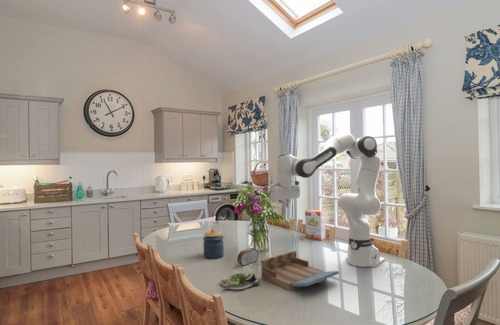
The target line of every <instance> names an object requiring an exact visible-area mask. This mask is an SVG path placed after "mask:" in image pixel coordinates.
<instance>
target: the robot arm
mask: <svg viewBox="0 0 500 325" xmlns="http://www.w3.org/2000/svg"><path fill="white" fill-rule="evenodd" d="M377 143H378V142H377V141H376V138H374V137H373V136H371V135H364V136H361V137H360V138H355V137H354V135H353V134H352V133H350V132H348V131H347V132H346V131H344V132H341V133H339V134H337V135H334V136H333V137H331V138H329V139H328V140H327V141H325V142H324V143H323V144H322V146H321V147H322V151H320V152H319V153H317V154H316V155H314V156H312V157H311V158H298V157H296V156H294V155H292V154H291V153H284V154H280V155H279V156H277V159H276V171H277V176H276V182H277V183H273V184H272V185H271V186H270V193H269V194H270V195H269V196H270V197H269V199H270V200H271V201H272V202H277V201H280V202H281V203H282V207H283V208H290V206H289V205H290V203H291V200H293V199H297V198H298V199H299V198H300V196H301V187H300V184H301V183H300V181H299V180H297V179H294V176H296V177H300V178H305V179H306V178H307V179H308V178H310V177H312V176H314V174H315V172H316V171H317V170H318V169H319V168H320V167H322V166H323V165H324V164H326V163H327V162H330V161H331V160H333V159H336V158H338V157H339V156H341V155H343V154H344V153H346V154H347V155H348V156H349V158H351V159H353V160H360V165H359V168H358V172H357V174H356V178H355V185H356V186H357V187H358V188H359V189H358V193H343V194H341V195H340V197H339V199H338V200H339V201H338V205H339V206H340V209H341V210H342V211H343V212H344V215H345V216H346V218H347V222H348V226H349V227H348V229H349V230H348V231H349V232H348V233H349V236H348V246H347V254H346V255H347V256H345V259H346V261H347V264H349V265H352V266H355V267H362V268H364V267H367V268H368V267H371V268H377V267H378V266H379V265H380V264H382V263H384V262H385V258H384V257H382V256H381V255H380V250H379V249H378V248H377V247H376V246H375V245H374V244H373V242H375V240H376V239H375V237H371V226H370V223H369V222H368V221H367V220H366V218H365V217H364V215H365V216H375V215H378V214H379V212H380V210H381V206H382V203H381V200H380V199H379V198H378V196H377V193H376V187H377V186H376V185H377V182H378V178H379V176H380V175H379V174H380V170H381V162H382V161H381V158H380V156H378V154H377V153H378V144H377Z"/></svg>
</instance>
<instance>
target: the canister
mask: <svg viewBox="0 0 500 325" xmlns="http://www.w3.org/2000/svg"><path fill="white" fill-rule="evenodd" d="M203 236H204V237H203V238H202V241H203V243H202V245H203V253H202V254H203V258H204V259H206V260H207V259H208V260H218V259H221V258H223V257H224V256H225V250H224V243H225V242H224V236H223V232H221V231H220V230H216V229H215V228H211V229H210V230H209V231H206V232H205V233H204V234H203Z"/></svg>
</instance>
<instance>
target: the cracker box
mask: <svg viewBox="0 0 500 325" xmlns="http://www.w3.org/2000/svg"><path fill="white" fill-rule="evenodd" d="M304 214H305V215H304V218H305V219H304V220H305V238H307V239H313V240H318V241H323V240H325V239H326V213H325V210H317V209H309V208H308V209H306V210H304Z"/></svg>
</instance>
